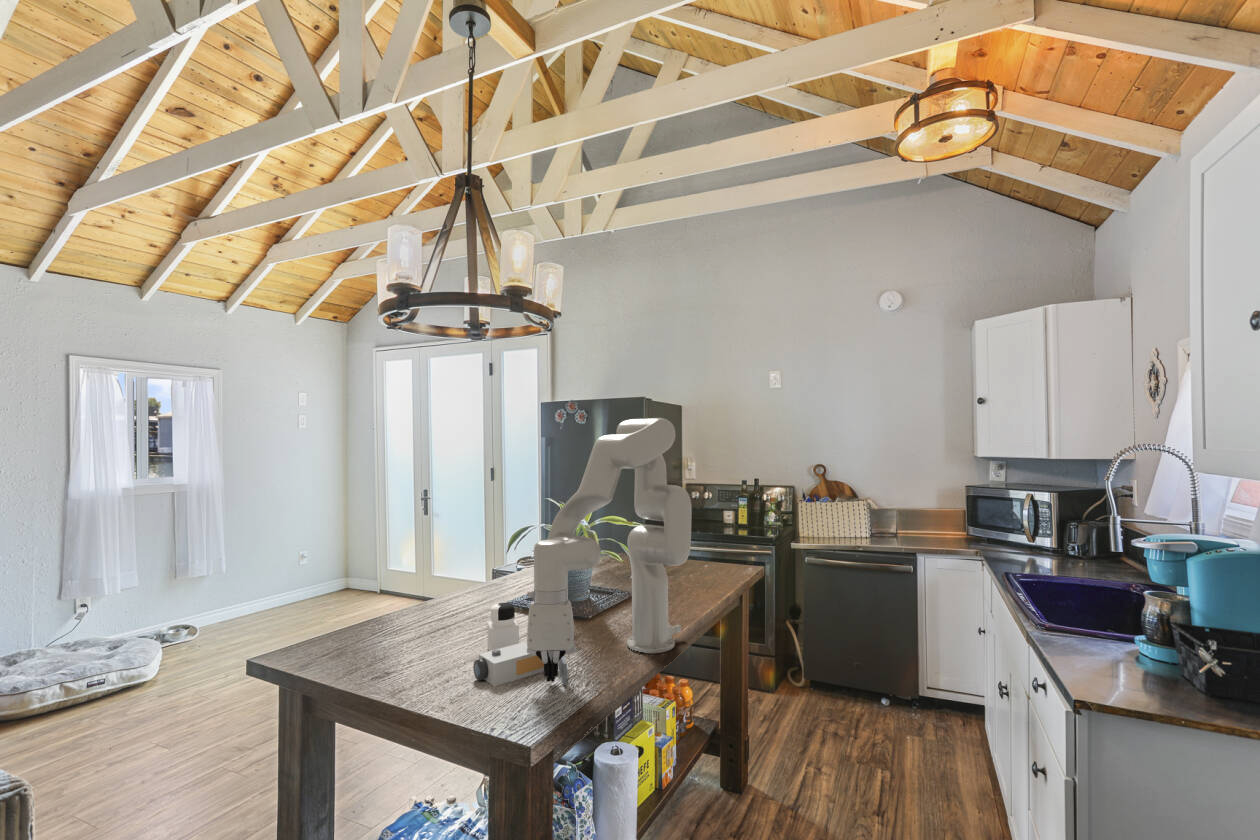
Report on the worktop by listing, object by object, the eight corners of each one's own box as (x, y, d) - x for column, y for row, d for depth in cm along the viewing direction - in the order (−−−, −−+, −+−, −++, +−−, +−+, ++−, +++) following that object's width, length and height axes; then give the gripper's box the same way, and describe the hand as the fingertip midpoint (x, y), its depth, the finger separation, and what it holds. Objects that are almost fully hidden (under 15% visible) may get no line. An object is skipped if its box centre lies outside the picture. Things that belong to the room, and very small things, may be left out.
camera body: (538, 658, 147) (538, 635, 148) (555, 667, 141) (555, 643, 141) (471, 677, 136) (471, 652, 136) (487, 688, 130) (487, 662, 130)
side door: (557, 665, 142) (557, 646, 142) (563, 665, 142) (563, 646, 142) (563, 685, 130) (563, 664, 130) (569, 684, 131) (569, 663, 131)
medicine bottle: (514, 644, 158) (514, 599, 158) (519, 653, 151) (518, 606, 152) (487, 648, 155) (487, 602, 156) (491, 657, 149) (490, 609, 149)
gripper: (514, 601, 128) (514, 687, 127) (583, 600, 128) (583, 685, 128) (520, 592, 136) (520, 673, 135) (585, 591, 136) (585, 672, 135)
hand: (551, 679), depth 131 cm, fingers closed
